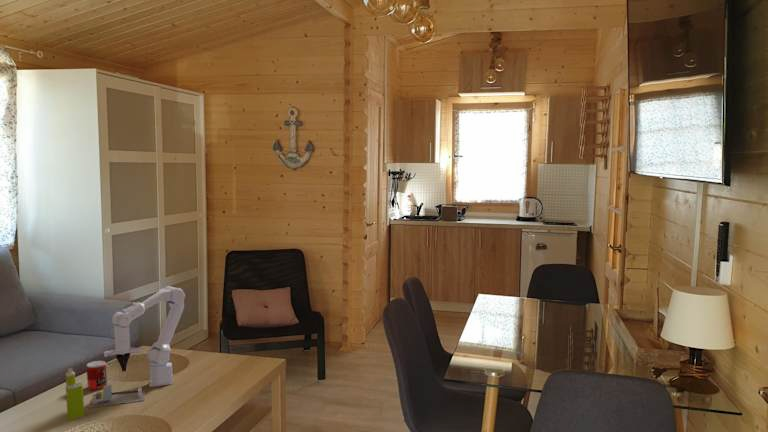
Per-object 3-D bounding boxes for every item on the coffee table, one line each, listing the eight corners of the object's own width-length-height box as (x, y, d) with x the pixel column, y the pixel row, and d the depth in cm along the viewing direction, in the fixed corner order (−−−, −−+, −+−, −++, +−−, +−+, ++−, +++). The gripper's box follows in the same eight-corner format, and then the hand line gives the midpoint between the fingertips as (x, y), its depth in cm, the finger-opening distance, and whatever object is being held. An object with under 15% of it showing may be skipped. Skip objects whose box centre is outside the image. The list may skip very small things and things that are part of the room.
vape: (66, 418, 226) (62, 368, 224) (81, 413, 231) (78, 364, 229) (69, 420, 224) (66, 371, 222) (85, 415, 228) (82, 366, 227)
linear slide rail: (145, 392, 251) (144, 382, 251) (144, 400, 242) (143, 391, 242) (91, 399, 244) (91, 389, 244) (88, 408, 235) (87, 398, 235)
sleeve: (112, 396, 244) (111, 384, 243) (111, 399, 241) (110, 387, 240) (104, 397, 243) (103, 385, 242) (103, 400, 240) (103, 388, 239)
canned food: (99, 391, 253) (98, 366, 252) (83, 390, 255) (82, 365, 254) (111, 384, 261) (109, 361, 260) (95, 383, 262) (94, 360, 261)
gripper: (102, 344, 241) (104, 376, 243) (140, 340, 246) (141, 371, 247) (104, 339, 248) (106, 370, 249) (141, 336, 253) (142, 366, 254)
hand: (124, 370), depth 249 cm, fingers closed
